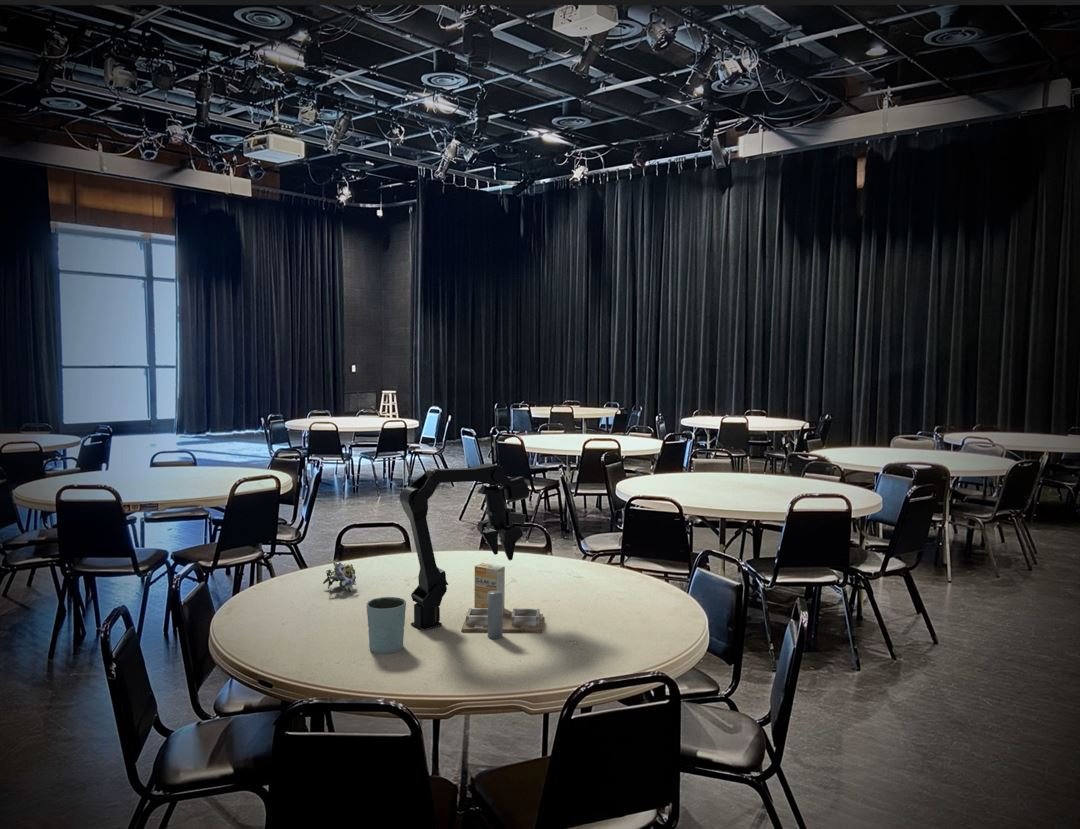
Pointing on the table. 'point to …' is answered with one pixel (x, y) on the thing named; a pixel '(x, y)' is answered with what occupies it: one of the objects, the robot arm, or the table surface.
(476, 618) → the socket board
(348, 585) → the passion flower
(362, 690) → the table surface
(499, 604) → the plug
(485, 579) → the supplement box
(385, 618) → the light blue cup
